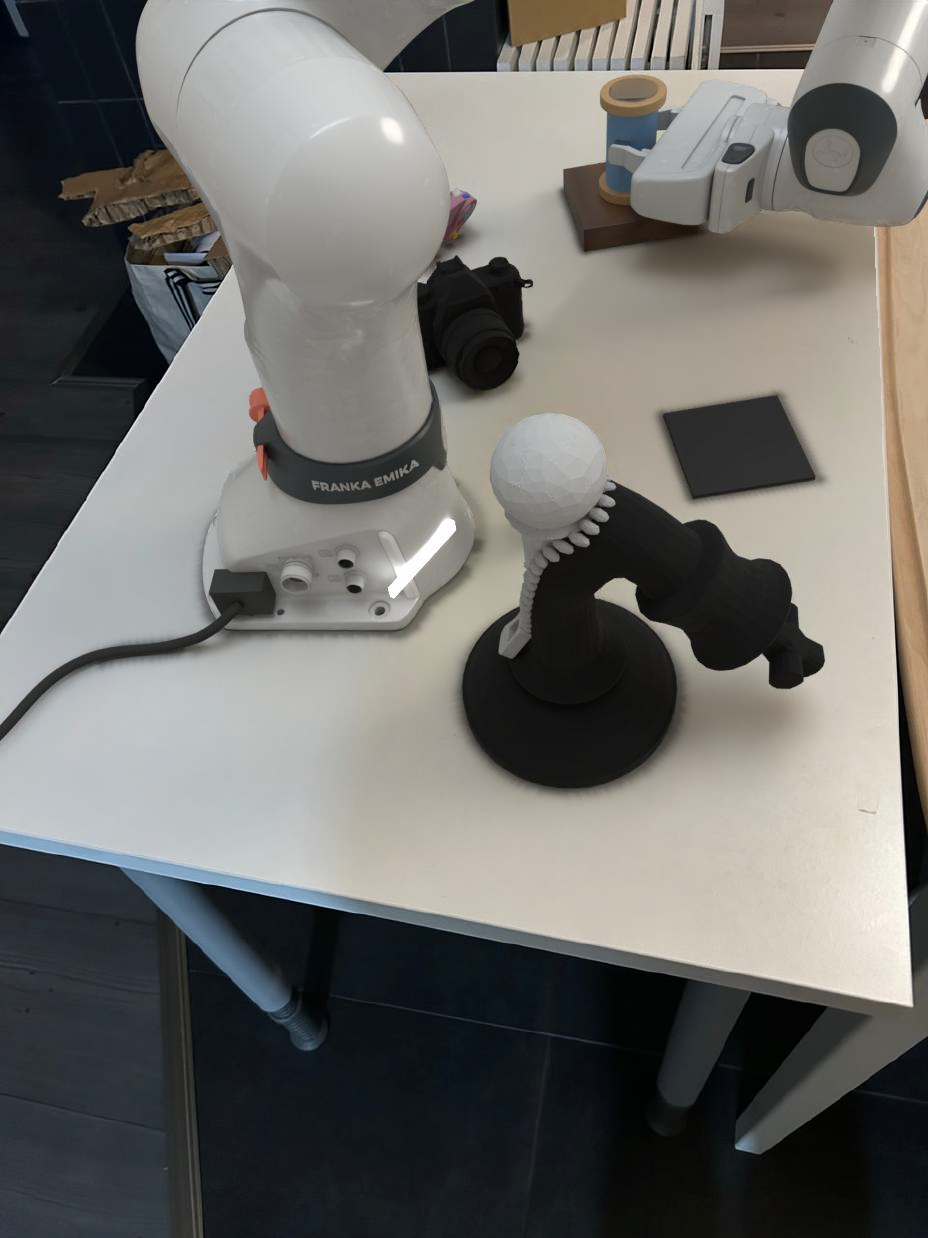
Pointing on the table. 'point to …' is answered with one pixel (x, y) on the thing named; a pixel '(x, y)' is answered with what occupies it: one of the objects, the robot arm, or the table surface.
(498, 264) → the film camera
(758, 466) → the coaster
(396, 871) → the table surface
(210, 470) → the table surface
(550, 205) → the table surface
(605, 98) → the spool
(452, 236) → the pink toy car
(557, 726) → the sculpture
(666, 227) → the platform
